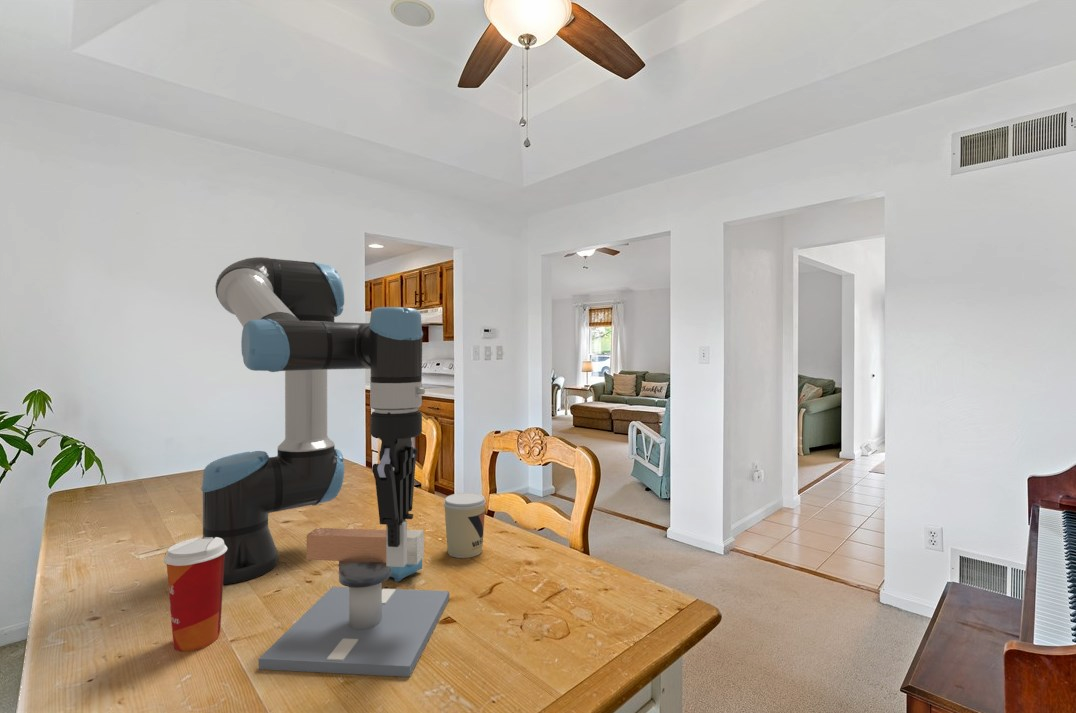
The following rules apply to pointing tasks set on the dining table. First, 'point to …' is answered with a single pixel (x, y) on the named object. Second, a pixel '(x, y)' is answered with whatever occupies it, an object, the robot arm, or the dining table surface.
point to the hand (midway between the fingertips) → (396, 564)
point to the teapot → (405, 570)
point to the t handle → (360, 553)
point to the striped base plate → (360, 632)
